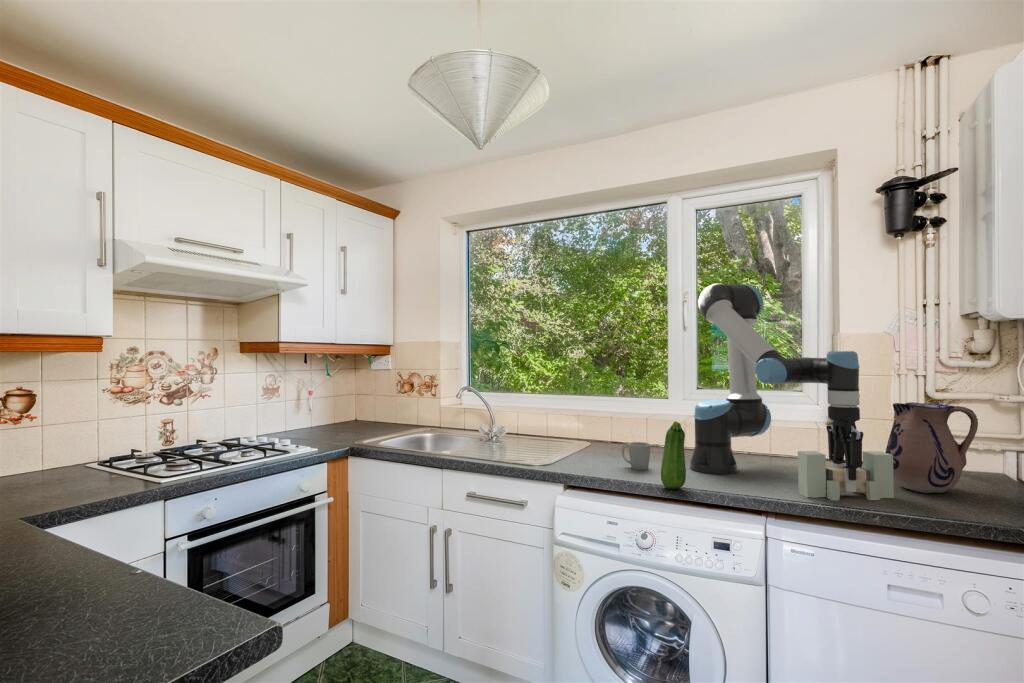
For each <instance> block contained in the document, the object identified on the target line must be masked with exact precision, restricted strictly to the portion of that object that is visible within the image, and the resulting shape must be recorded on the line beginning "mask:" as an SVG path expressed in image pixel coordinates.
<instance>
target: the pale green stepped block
mask: <svg viewBox="0 0 1024 683" xmlns="http://www.w3.org/2000/svg"><path fill="white" fill-rule="evenodd" d="M826 463H827V462H826V454H825V453H822V452H820V451H816V450H797V480H798V481H797V483H798V484H797V487H798V488H797V491H798V492H799V493H800V495H801V494H802V495H801V496H803V495H804V496H803V497H805V496H806V497H805V498H807V497H826V499H827V498H828V499H827V500H829V499H832V500H831V501H840V500H841V499H840V498H841V496H840V495H841V494H840V493H841V492H840V486H839V482H838V481H827V491H826V467H827V466H826ZM798 492H797V493H798ZM799 493H798V494H799ZM834 499H835V500H834Z"/></svg>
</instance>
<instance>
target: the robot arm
mask: <svg viewBox="0 0 1024 683" xmlns="http://www.w3.org/2000/svg"><path fill="white" fill-rule="evenodd" d="M763 297H764V296H763V295H762V292H761V291H760V290H759V288H757V287H755V286H753V285H752V284H751V285H749V284H743V283H741V284H740V283H739V284H738V283H737V284H736V283H735V284H734V283H713V284H711V285H708V286H707V287H705V288H704V289H703V290H702V292H700V294H699V298H698V308H699V313H701V315H702V316H703V318H704V319H706V320H707V322H708V323H710V324H713V325H715V326H717V328H718V329H719V330H720V331H721V332H722V333H723V334H724V335H725V336H726V341H727V345H726V346H727V356H728V357H727V359H728V373H729V374H728V376H729V389H730V390H729V392H730V394H729V395H727V396H726V397H725V399H711V400H710V399H708V400H704V401H701V402H698V403H696V405H695V407H694V414H693V418H694V448H693V450H692V454H691V457H690V460H689V468H690V469H691V470H693V471H696V472H700V473H703V474H704V473H705V474H712V475H713V474H714V475H729V474H734V473H735V474H736V472H738V463H737V461H736V457H735V455H734V453H733V448H732V438H740V437H741V438H742V437H743V438H744V437H749V438H752V437H756V436H759V435H760V436H761V435H763V434H764V433H766V431H767V430H768V429H769V428H770V426H771V421H772V414H771V411H770V408H768V405H766V404H765V403H764V402H763V397H762V396H761V395H759V393H758V390H757V380H758V381H759V382H761V383H762V384H768V385H769V384H770V385H781V384H783V385H786V384H826V385H827V404H828V405H829V406H828V407H827V418H828V419H830V420H832V423H831V424H830V425H829V424H828V425H826V430H827V431H826V432H827V440H828V441H827V444H828V445H827V446H828V459H829V461H831V460H832V463H833V467H844V482H845V491H846V492H845V493H852V492H856V469H857V468H863V438H864V432H863V431H858V430H857V425H856V422H857V421H860V419H861V411H860V407H858V406H859V405H860V397H861V396H860V385H859V384H860V382H859V380H860V378H859V377H860V365H859V364H860V363H859V355H858V353H857V352H856V351H852V350H849V351H848V350H847V351H846V350H842V351H841V350H836V351H834V350H833V351H832V350H831V351H827V353H826V357H806V356H805V357H804V356H803V357H784V356H783V354H781V353H780V352H779V351H778V350H777V349H776V348H775V347H774V346H773V345H771V344H770V342H769V341H767V339H766V338H764V337H763V336H762V335H761V334H760V333H759V332H758V331H757V330H756V329H755V328H754V327H753V326H754V324H755V323H756V322H757V321H758V320H757V319H758V318H757V316H759V315H760V314H761V313H762V310H763V308H764V299H763Z"/></svg>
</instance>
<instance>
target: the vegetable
mask: <svg viewBox="0 0 1024 683" xmlns="http://www.w3.org/2000/svg"><path fill="white" fill-rule="evenodd" d="M685 437H686V433H685V431H684V429H683V427H682V424H681V423H680V422H678V421H675V420H674V422H672V425H671V426H670V427H669V428H668V429H667V430H666V433H665V440H664V446H663V447H664V448H663V453H662V460H661V467H660V480H661V483H662V486H664V487H665V488H666V489H669V490H674V489H675V490H676V489H680V488H682V487H683V486H684V485H685V483H686V478H687V470H686V459H685V458H686V456H685V439H686V438H685Z"/></svg>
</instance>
